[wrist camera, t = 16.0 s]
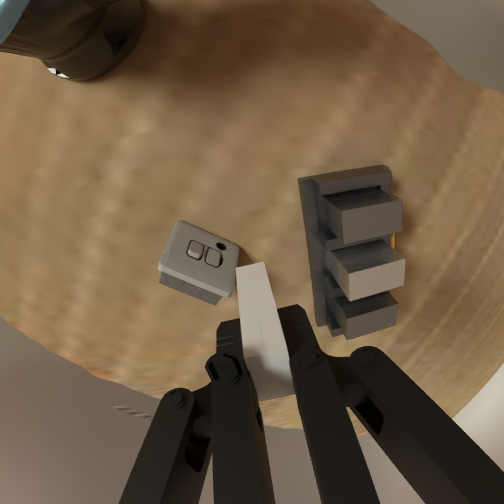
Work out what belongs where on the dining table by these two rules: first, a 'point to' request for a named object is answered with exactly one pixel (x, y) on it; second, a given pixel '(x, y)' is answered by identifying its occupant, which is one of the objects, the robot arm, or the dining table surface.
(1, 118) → the dining table surface
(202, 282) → the electrical switch
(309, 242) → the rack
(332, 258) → the grey block
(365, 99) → the dining table surface
